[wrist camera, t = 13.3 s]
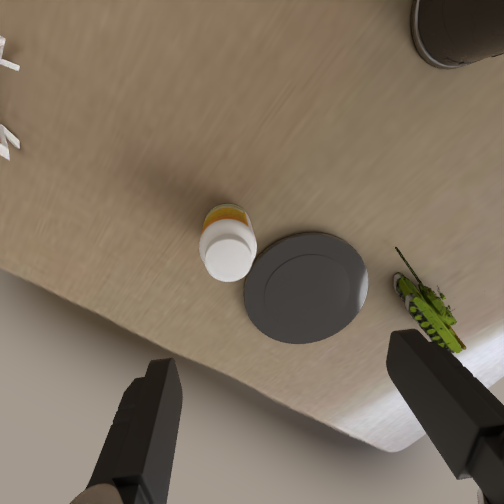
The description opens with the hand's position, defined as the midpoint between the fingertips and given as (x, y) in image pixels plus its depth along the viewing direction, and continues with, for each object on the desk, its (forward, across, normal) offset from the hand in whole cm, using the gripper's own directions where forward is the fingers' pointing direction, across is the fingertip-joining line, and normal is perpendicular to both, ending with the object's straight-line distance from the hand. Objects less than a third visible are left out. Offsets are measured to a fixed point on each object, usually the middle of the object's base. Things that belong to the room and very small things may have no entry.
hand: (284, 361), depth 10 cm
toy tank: (+23, -22, +13) cm, 34 cm away
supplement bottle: (+23, +2, +2) cm, 23 cm away
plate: (+22, -7, +12) cm, 26 cm away
